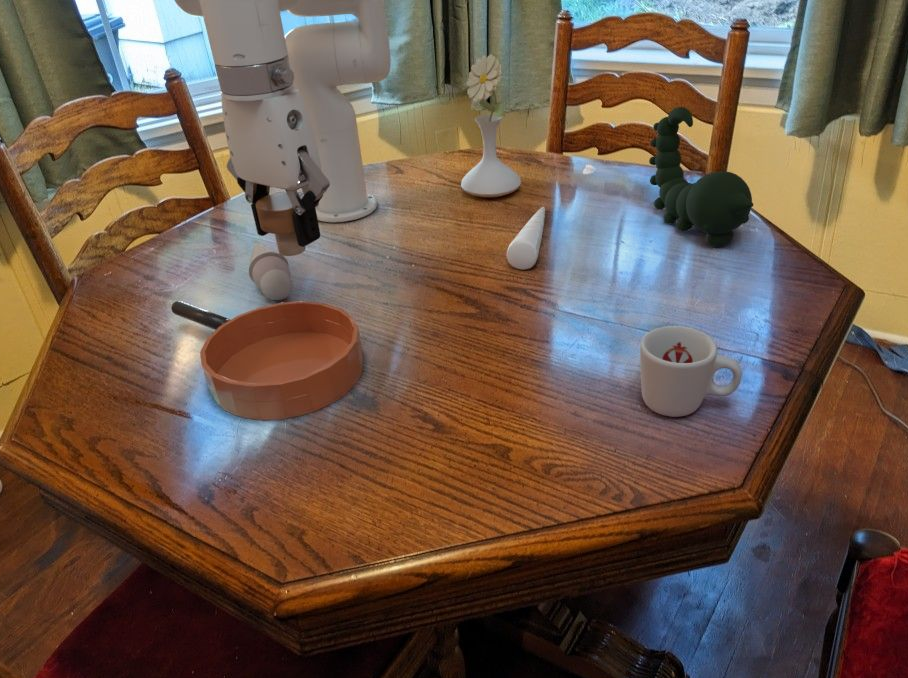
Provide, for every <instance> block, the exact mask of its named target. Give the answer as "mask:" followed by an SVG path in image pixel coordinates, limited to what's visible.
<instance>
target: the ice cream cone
mask: <svg viewBox="0 0 908 678" xmlns="http://www.w3.org/2000/svg"><path fill="white" fill-rule="evenodd" d="M249 263H250V264H249V267H248V275H249V278H250V280H251V281H252V282H253V283H254V284H255V286H256V287H257V289H259V290H260V291H261V292H262V294H263V295H264V296H265V297H266V298H268V299H269V300H272V301H281V300H284V299H286V298H287V297H288V296H289V295H290V294H291V292H292V289H293V281H292V278H291V270H290V264H289V261H288V259H287V258H286V256H283V255H281V254H279V252H277V251H275V250H273V249H271V248H269V247H268V246H265V245H264V244H262V243H260V242H258V241H256V240H255V241H254V245H253V250H252V254H251V258H250V262H249Z"/></svg>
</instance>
